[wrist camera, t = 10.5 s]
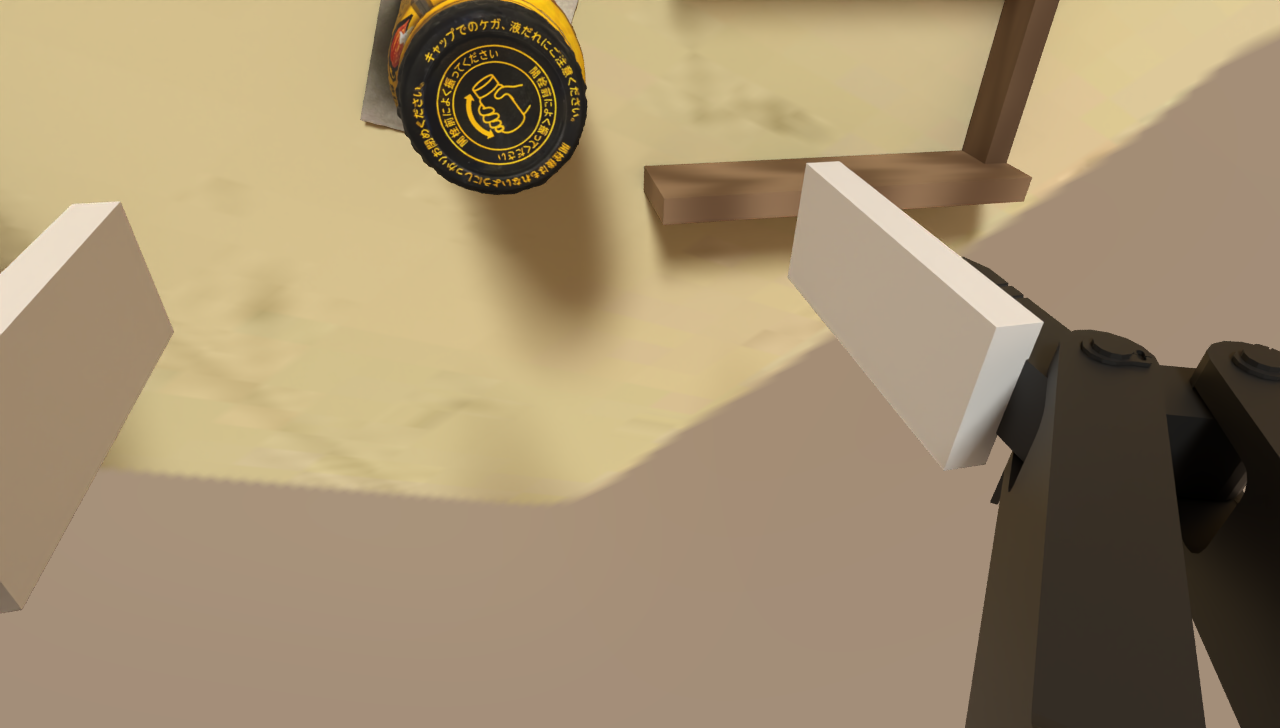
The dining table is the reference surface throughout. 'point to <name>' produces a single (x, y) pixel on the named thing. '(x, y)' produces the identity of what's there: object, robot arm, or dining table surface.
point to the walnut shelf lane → (895, 176)
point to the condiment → (480, 87)
